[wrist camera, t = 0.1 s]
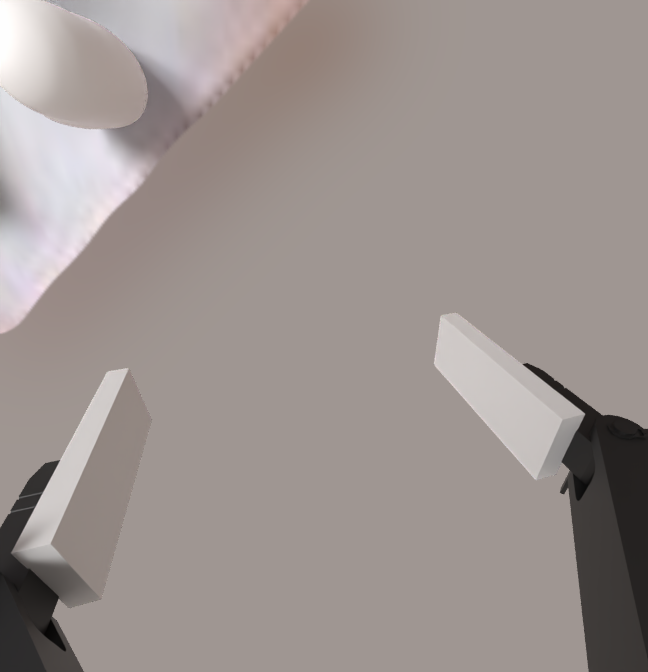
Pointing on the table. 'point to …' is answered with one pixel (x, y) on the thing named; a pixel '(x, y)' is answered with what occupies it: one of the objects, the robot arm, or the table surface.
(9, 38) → the figurine
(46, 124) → the table surface
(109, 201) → the table surface
